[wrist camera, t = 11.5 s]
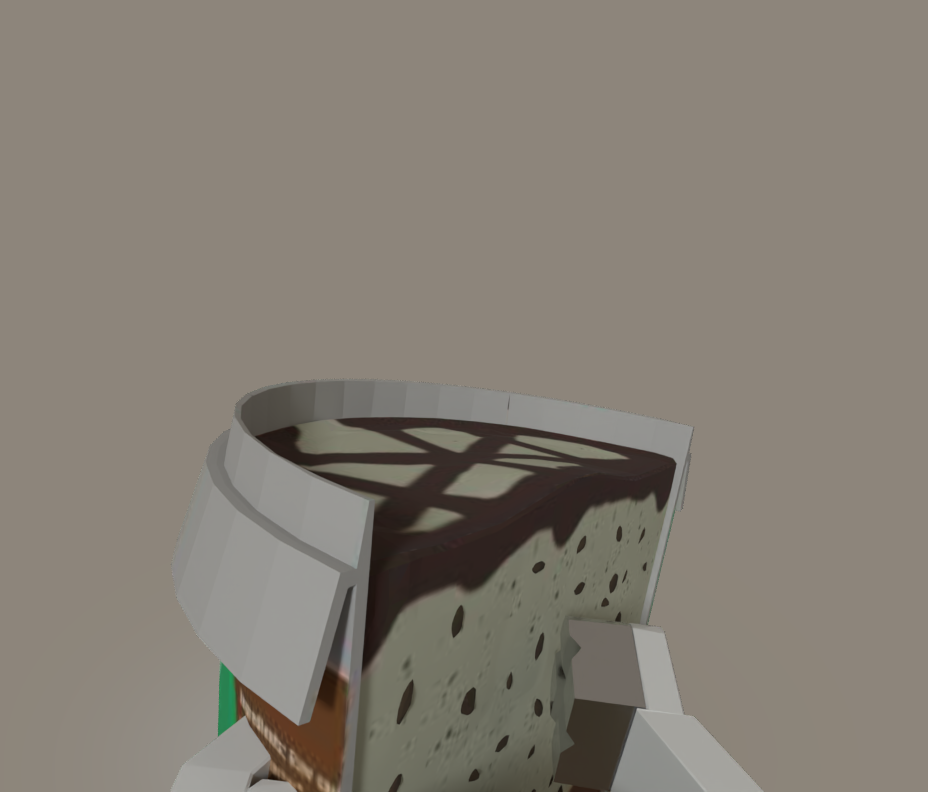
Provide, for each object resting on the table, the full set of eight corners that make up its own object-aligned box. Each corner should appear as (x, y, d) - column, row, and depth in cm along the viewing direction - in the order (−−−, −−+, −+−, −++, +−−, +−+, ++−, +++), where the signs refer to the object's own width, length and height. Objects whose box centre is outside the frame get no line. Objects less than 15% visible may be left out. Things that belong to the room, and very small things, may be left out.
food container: (422, 705, 21) (479, 373, 20) (617, 812, 18) (701, 424, 17) (-60, 1025, 11) (-11, 372, 9) (199, 1420, 7) (329, 509, 6)
